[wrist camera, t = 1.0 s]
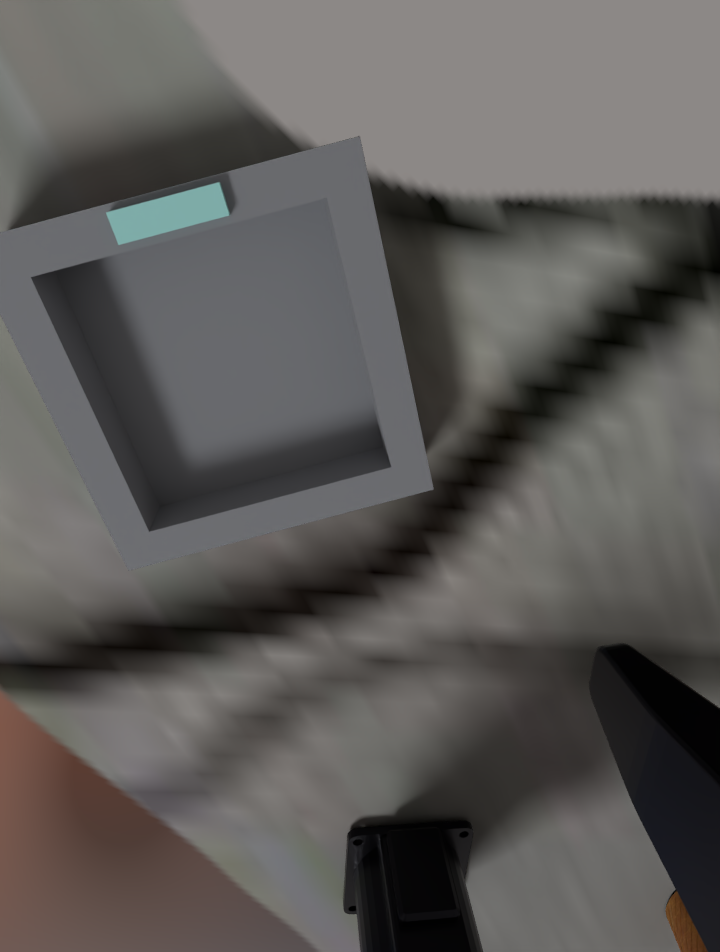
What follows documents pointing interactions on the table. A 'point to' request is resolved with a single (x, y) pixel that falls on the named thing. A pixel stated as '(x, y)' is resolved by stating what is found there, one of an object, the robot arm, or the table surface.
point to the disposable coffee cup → (683, 926)
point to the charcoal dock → (221, 353)
